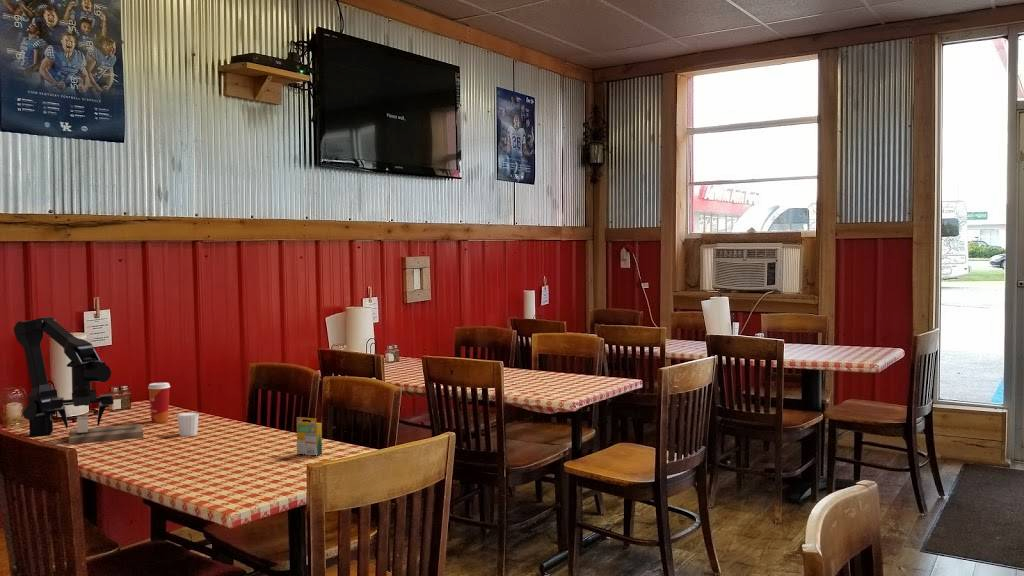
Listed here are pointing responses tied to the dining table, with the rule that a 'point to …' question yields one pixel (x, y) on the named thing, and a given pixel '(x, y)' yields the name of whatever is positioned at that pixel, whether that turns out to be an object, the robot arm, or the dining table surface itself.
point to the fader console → (106, 434)
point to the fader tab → (82, 424)
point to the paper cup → (159, 402)
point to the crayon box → (309, 437)
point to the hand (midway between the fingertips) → (82, 427)
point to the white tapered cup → (188, 423)
